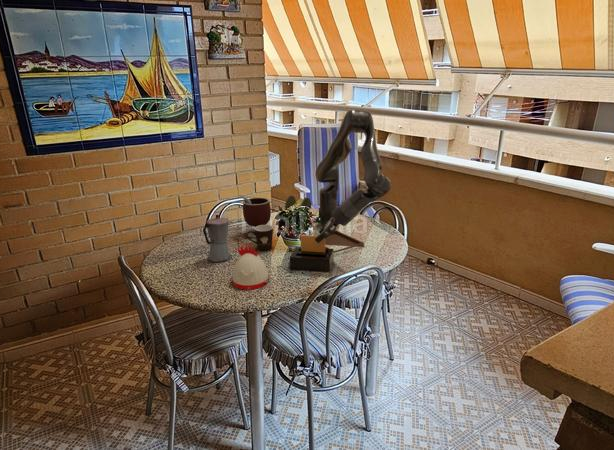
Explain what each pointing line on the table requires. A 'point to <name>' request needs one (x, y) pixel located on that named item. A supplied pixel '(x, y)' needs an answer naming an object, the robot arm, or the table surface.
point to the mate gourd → (256, 212)
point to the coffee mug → (263, 237)
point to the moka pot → (217, 238)
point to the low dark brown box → (311, 260)
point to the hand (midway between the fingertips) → (318, 237)
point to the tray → (342, 241)
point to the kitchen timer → (249, 270)
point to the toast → (312, 244)
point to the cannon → (300, 202)
